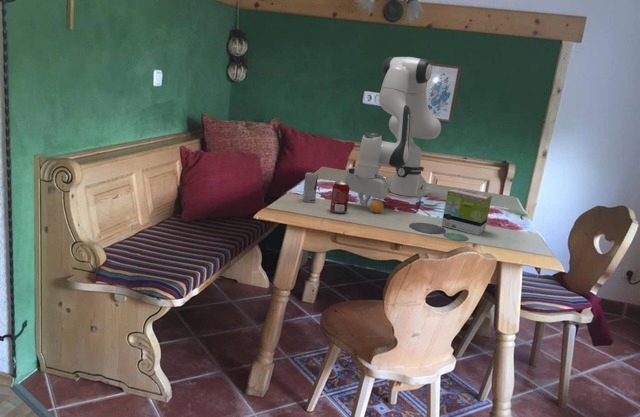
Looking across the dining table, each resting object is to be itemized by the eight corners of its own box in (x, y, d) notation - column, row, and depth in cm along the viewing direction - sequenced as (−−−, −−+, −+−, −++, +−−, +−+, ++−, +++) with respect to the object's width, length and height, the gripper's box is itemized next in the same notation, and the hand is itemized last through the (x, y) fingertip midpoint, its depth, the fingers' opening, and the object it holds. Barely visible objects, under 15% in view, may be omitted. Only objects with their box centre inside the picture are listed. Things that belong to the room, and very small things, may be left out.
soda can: (345, 215, 206) (348, 185, 203) (328, 212, 207) (331, 183, 204) (347, 211, 212) (351, 182, 209) (331, 208, 213) (334, 180, 210)
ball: (383, 196, 215) (388, 209, 214) (374, 200, 219) (378, 213, 218) (374, 198, 211) (379, 211, 210) (365, 202, 215) (369, 215, 214)
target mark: (421, 221, 209) (421, 220, 209) (452, 230, 200) (452, 230, 200) (402, 226, 198) (402, 225, 198) (434, 236, 190) (434, 235, 190)
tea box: (440, 226, 204) (446, 190, 201) (448, 222, 213) (454, 187, 209) (478, 236, 197) (485, 198, 193) (485, 231, 205) (492, 194, 202)
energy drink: (316, 201, 224) (319, 173, 221) (312, 203, 219) (315, 175, 216) (305, 198, 226) (308, 171, 223) (300, 201, 221) (303, 173, 218)
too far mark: (450, 231, 198) (450, 231, 198) (472, 238, 192) (472, 237, 192) (439, 235, 191) (439, 235, 191) (461, 242, 186) (461, 241, 186)
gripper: (392, 176, 212) (387, 209, 215) (353, 167, 225) (349, 198, 228) (383, 177, 207) (378, 211, 210) (344, 168, 220) (340, 199, 223)
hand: (363, 204), depth 219 cm, fingers closed
